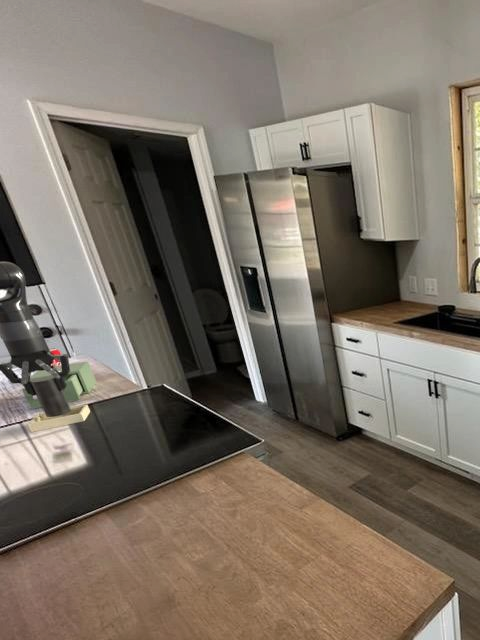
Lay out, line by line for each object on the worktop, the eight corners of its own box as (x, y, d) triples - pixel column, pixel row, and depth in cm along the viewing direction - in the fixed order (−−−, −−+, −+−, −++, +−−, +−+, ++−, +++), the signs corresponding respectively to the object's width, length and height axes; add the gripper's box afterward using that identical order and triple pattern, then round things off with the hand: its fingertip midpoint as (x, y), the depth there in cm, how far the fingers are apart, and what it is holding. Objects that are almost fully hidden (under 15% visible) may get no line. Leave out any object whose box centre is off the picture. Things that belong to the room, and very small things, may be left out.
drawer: (76, 403, 135) (68, 384, 133) (26, 413, 129) (16, 393, 127) (87, 388, 149) (80, 371, 147) (43, 396, 143) (34, 378, 140)
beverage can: (68, 379, 164) (55, 350, 160) (46, 382, 161) (32, 353, 156) (72, 375, 169) (60, 346, 164) (51, 378, 165) (38, 349, 161)
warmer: (89, 393, 147) (79, 370, 144) (39, 402, 140) (27, 378, 137) (96, 382, 158) (87, 361, 155) (50, 390, 152) (40, 368, 148)
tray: (31, 432, 118) (27, 424, 117) (40, 421, 125) (36, 414, 124) (84, 421, 124) (81, 413, 123) (90, 411, 131) (87, 404, 130)
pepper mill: (44, 418, 120) (27, 383, 116) (49, 413, 124) (32, 379, 120) (68, 413, 123) (53, 379, 119) (72, 408, 127) (57, 375, 123)
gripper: (61, 330, 122) (84, 383, 128) (-11, 338, 114) (17, 394, 120) (55, 334, 116) (79, 390, 122) (-22, 343, 108) (8, 402, 114)
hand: (48, 392), depth 121 cm, fingers closed on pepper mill, 5 cm apart
